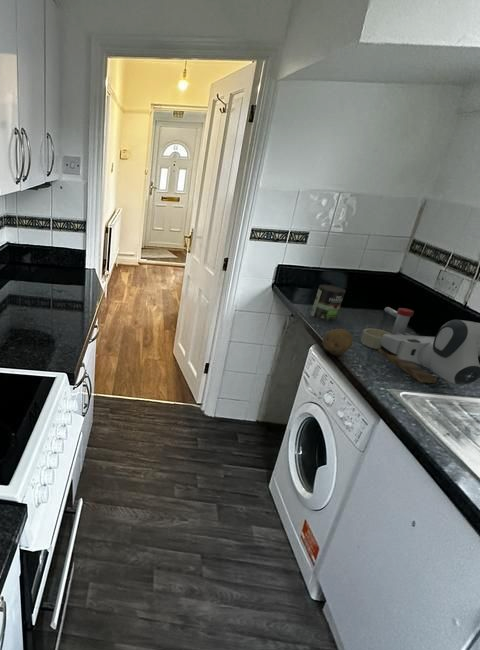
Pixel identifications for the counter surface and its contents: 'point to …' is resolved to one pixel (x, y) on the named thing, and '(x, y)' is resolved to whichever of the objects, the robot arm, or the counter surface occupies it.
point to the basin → (372, 337)
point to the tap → (398, 321)
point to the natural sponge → (337, 341)
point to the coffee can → (327, 302)
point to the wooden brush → (410, 368)
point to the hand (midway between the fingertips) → (400, 334)
